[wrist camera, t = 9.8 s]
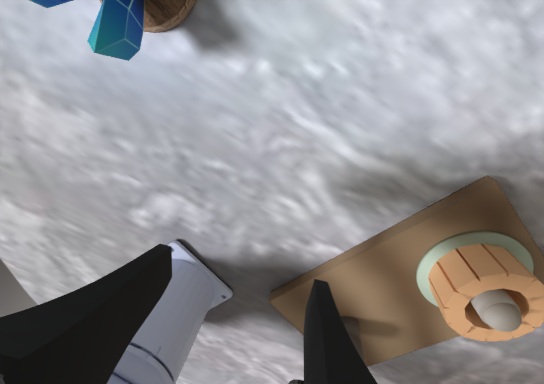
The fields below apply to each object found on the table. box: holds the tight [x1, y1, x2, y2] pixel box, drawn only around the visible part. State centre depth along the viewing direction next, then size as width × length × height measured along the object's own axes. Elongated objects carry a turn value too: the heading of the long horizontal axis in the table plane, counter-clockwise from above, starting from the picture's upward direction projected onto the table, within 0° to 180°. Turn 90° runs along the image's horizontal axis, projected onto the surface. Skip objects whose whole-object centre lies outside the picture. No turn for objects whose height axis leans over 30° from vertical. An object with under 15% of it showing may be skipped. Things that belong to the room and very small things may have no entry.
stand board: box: [269, 176, 544, 367], centre depth 21 cm, size 20×12×6 cm, turn 131°
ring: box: [428, 243, 544, 342], centre depth 19 cm, size 6×6×3 cm
